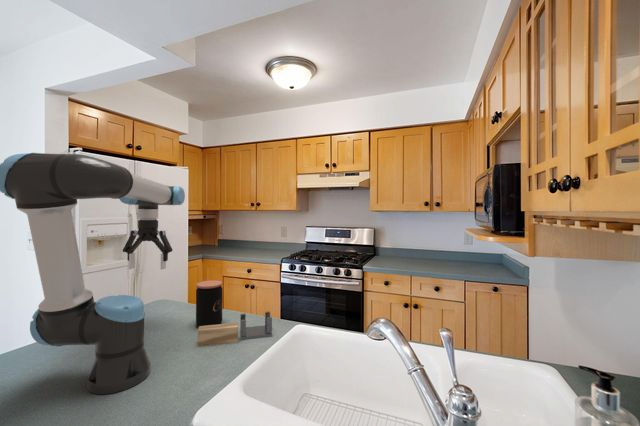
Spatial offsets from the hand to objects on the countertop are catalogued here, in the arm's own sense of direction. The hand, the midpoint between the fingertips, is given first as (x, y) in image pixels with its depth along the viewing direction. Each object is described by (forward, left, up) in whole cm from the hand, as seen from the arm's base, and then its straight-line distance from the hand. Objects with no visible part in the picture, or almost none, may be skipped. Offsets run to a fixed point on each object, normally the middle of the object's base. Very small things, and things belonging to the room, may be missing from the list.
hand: (147, 268), depth 121 cm
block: (-25, -31, -24) cm, 46 cm away
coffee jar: (-7, -26, -24) cm, 36 cm away
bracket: (-21, -45, -24) cm, 55 cm away
